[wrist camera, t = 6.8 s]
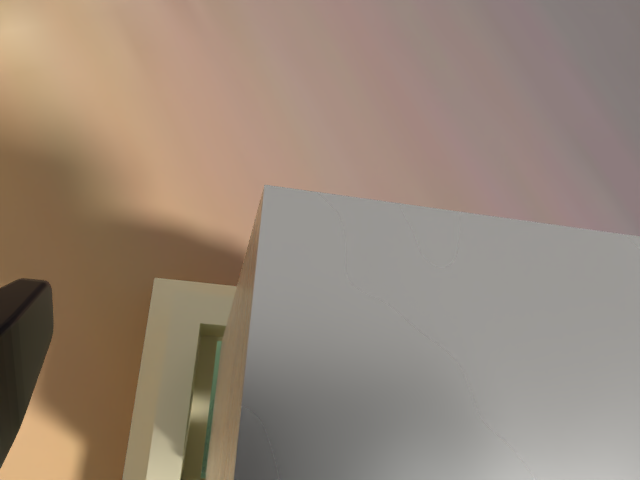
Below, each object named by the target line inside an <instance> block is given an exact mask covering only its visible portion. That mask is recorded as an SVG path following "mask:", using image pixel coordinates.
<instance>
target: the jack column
mask: <svg viewBox="0 0 640 480" xmlns="http://www.w3.org/2000/svg"><path fill="white" fill-rule="evenodd" d="M201 478H206V480H640V237H639V236H632V235H625V234H618V233H610V232H603V231H596V230H589V229H581V228H574V227H567V226H560V225H552V224H545V223H538V222H531V221H523V220H516V219H509V218H502V217H494V216H487V215H480V214H473V213H465V212H458V211H451V210H444V209H436V208H429V207H422V206H415V205H407V204H400V203H393V202H386V201H378V200H371V199H364V198H357V197H349V196H342V195H335V194H328V193H321V192H313V191H306V190H299V189H292V188H284V187H277V186H270V185H264V189H263V192H262V196H261V200H260V203H259V207H258V211H257V214H256V218H255V222H254V225H253V229H252V233H251V236H250V240H249V244H248V247H247V251H246V255H245V259H244V262H243V266H242V270H241V273H240V277H239V281H238V284H237V288H236V292H235V295H234V299H233V303H232V306H231V310H230V314H229V317H228V321H227V325H226V328H225V332H224V336H223V339H222V341H217V346H216V354H215V363H214V371H213V379H212V387H211V396H210V404H209V412H208V420H207V429H206V437H205V445H204V453H203V462H202V470H201Z"/></svg>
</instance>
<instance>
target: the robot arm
mask: <svg viewBox="0 0 640 480" xmlns="http://www.w3.org/2000/svg"><path fill="white" fill-rule="evenodd" d="M52 334H53V302H52V288H51V285H50V283H49V282H47V281H44V280H35V279H25V278H21V279H18V280H16V281H14V282H12V283H10V284H8V285H5V286H3V287H1V288H0V468H1V466H2V464H3V462H4V460H5V458H6V456H7V454H8V452H9V450H10V448H11V446H12V444H13V442H14V440H15V438H16V435H17V433H18V431H19V429H20V426H21V424H22V421H23V418H24V416H25V413H26V410H27V407H28V405H29V402H30V399H31V396H32V393H33V390H34V387H35V385H36V382H37V379H38V376H39V373H40V370H41V368H42V365H43V362H44V359H45V356H46V353H47V350H48V348H49V345H50V342H51V339H52Z"/></svg>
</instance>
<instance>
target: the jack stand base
mask: <svg viewBox="0 0 640 480" xmlns="http://www.w3.org/2000/svg"><path fill="white" fill-rule="evenodd" d="M236 288H237V286H230V285H220V284H211V283H201V282H192V281H183V280H173V279H164V278H154V283H153V290H152V296H151V302H150V308H149V315H148V321H147V327H146V334H145V340H144V346H143V352H142V359H141V365H140V371H139V377H138V384H137V390H136V396H135V403H134V409H133V415H132V421H131V428H130V434H129V440H128V447H127V453H126V459H125V465H124V472H123V478H122V480H206V478H201V470H202V462H203V453H204V445H205V437H206V429H207V420H208V412H209V404H210V396H211V387H212V379H213V371H214V363H215V354H216V346H217V341H222V339H223V336H224V332H225V328H226V325H227V321H228V317H229V314H230V310H231V306H232V303H233V299H234V295H235V292H236Z"/></svg>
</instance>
